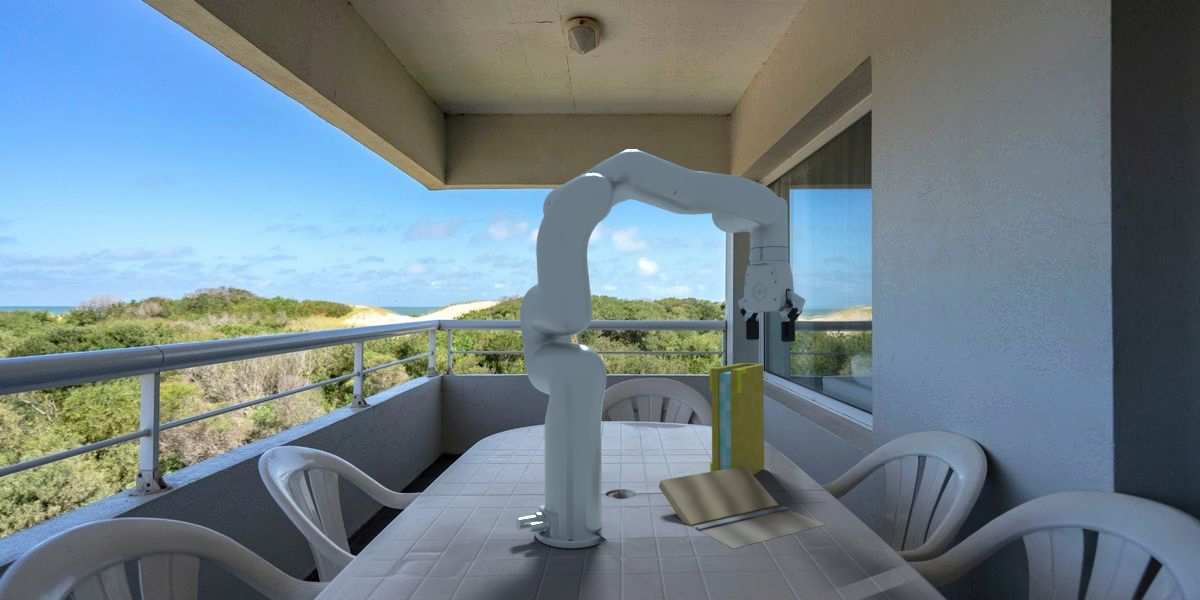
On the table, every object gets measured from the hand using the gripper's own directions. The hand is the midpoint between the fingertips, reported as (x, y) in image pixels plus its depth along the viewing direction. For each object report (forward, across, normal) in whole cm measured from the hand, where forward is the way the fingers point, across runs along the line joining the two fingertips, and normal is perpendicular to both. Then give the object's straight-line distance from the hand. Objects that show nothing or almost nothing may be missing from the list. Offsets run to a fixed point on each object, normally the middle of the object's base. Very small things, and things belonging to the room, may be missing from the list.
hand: (769, 340), depth 115 cm
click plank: (+28, +4, -18) cm, 34 cm away
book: (+31, -10, +1) cm, 33 cm away
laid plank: (+31, +15, -18) cm, 39 cm away
